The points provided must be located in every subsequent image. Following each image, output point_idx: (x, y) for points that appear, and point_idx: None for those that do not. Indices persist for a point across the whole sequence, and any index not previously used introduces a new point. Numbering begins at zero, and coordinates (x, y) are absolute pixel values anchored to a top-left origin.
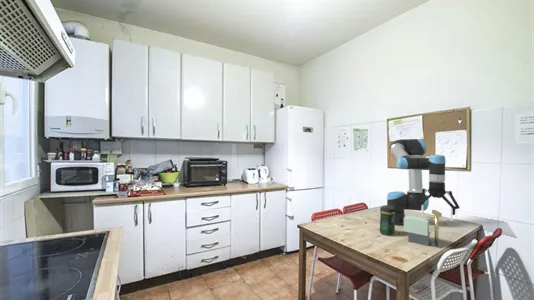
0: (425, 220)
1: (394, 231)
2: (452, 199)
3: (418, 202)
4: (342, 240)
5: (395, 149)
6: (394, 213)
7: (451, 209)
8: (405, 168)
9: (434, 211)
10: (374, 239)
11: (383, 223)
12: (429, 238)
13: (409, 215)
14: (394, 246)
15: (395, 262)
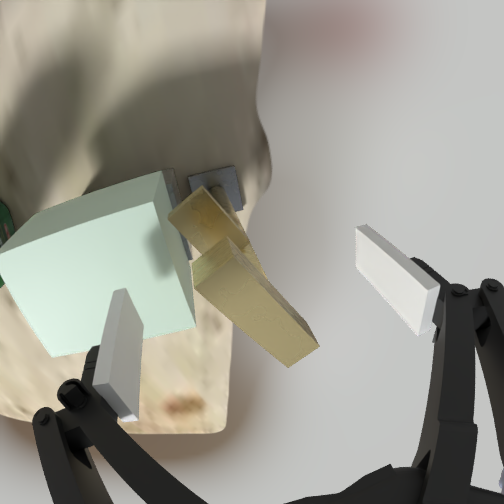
0: (163, 296)
1: (6, 223)
2: (498, 410)
3: (82, 441)
4: (25, 411)
5: None
6: None
7: (421, 333)
8: None
9: (243, 330)
10: (35, 346)
11: None
12: (175, 187)
13: (10, 252)
14: None
15: (190, 423)
